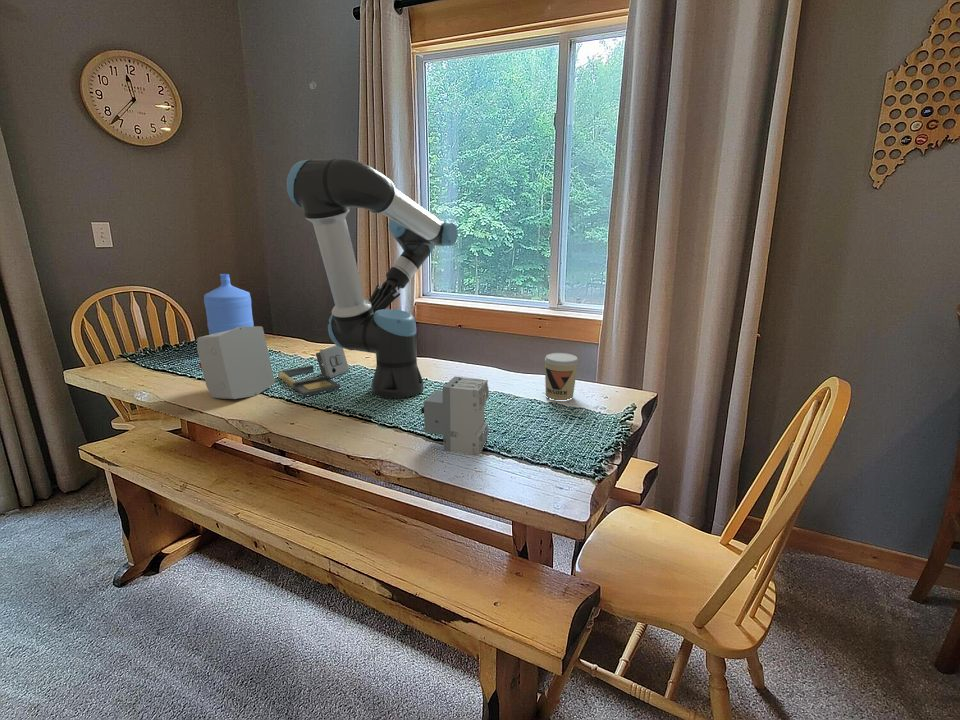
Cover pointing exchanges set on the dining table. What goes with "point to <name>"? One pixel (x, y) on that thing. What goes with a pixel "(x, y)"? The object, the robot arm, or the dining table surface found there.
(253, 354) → the electrical switch box
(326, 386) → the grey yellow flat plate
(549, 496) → the dining table surface
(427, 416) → the circuit breaker
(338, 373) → the electrical switch
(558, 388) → the coffee cup
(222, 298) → the water jug
